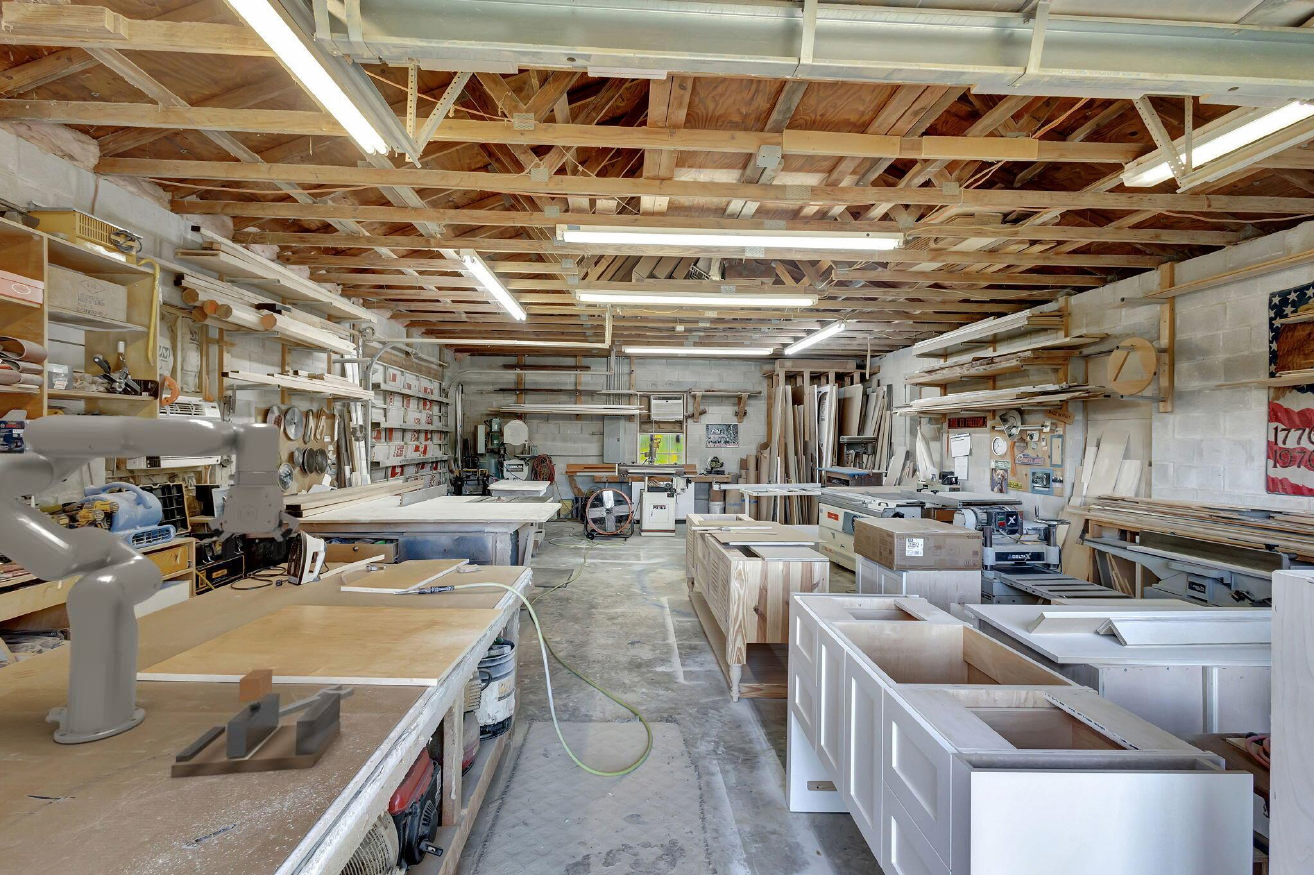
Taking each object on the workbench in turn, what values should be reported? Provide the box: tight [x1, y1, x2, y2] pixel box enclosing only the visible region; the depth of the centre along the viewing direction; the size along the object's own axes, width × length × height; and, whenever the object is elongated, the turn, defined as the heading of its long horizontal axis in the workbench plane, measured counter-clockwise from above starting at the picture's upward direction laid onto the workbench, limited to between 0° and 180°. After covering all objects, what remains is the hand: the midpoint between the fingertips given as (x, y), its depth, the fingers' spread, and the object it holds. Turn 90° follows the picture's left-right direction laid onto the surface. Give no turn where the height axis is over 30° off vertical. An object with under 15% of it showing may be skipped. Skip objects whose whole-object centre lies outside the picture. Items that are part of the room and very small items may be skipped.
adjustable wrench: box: [224, 683, 355, 729], centre depth 115 cm, size 25×6×2 cm, turn 142°
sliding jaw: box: [226, 668, 281, 757], centre depth 99 cm, size 3×11×12 cm, turn 10°
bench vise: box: [170, 693, 342, 778], centre depth 99 cm, size 22×12×8 cm, turn 100°
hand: (253, 559), depth 116 cm, fingers open, 9 cm apart
